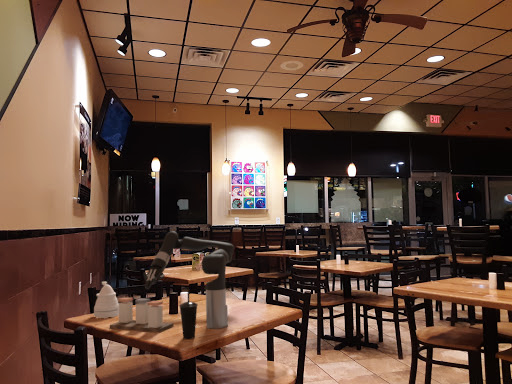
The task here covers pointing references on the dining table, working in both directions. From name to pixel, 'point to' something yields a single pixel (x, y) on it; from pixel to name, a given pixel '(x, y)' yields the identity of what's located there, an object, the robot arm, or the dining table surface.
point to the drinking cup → (188, 318)
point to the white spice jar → (125, 310)
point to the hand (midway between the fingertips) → (146, 287)
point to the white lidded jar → (142, 311)
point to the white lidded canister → (155, 314)
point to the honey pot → (106, 303)
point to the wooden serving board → (140, 326)
